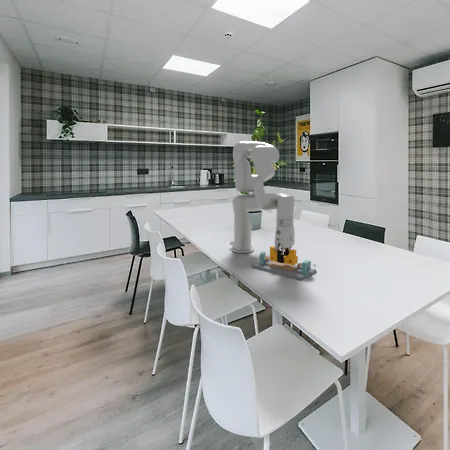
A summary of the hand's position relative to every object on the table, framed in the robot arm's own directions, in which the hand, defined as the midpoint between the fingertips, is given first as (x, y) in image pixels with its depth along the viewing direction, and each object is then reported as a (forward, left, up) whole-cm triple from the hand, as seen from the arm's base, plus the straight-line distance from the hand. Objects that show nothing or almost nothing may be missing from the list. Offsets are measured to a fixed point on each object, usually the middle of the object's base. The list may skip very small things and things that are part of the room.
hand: (283, 260), depth 141 cm
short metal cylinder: (-10, -1, -2) cm, 10 cm away
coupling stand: (0, 0, -4) cm, 4 cm away
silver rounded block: (+10, 0, -2) cm, 10 cm away
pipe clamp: (0, 0, -1) cm, 1 cm away
